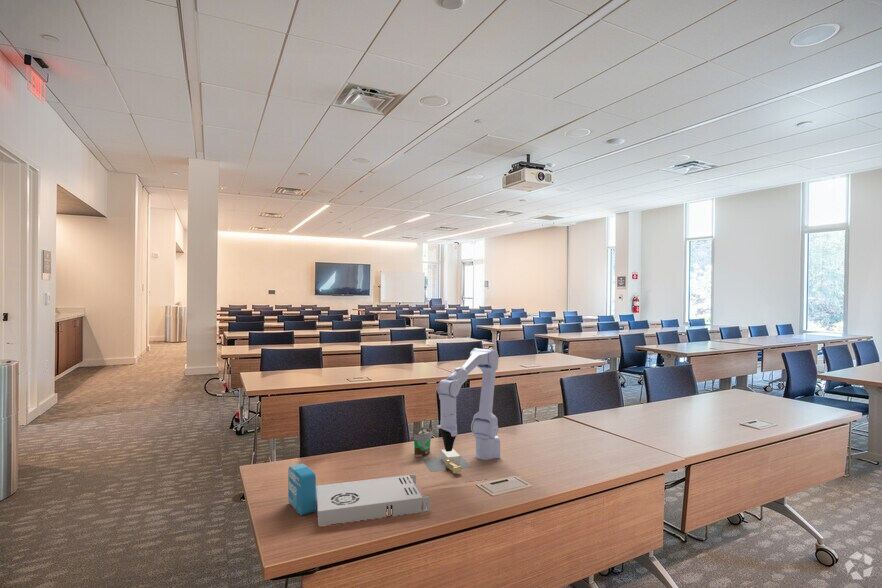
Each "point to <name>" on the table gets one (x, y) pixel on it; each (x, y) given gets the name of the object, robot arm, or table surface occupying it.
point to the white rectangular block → (451, 456)
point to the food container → (422, 442)
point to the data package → (302, 488)
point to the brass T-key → (452, 466)
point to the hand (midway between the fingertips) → (448, 450)
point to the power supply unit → (369, 499)
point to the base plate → (441, 464)
